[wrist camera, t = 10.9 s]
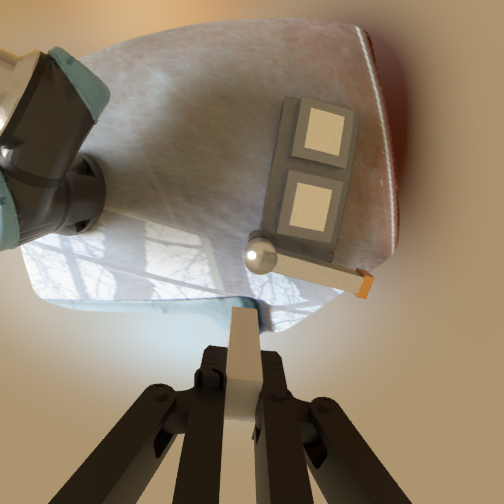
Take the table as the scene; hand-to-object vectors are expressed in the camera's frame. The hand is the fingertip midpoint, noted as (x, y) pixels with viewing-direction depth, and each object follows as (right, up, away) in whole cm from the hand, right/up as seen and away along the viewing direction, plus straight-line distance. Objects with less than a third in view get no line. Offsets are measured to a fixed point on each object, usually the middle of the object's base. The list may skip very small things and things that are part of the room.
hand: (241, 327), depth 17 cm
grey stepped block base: (+9, +15, +26) cm, 31 cm away
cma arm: (+8, +3, +21) cm, 22 cm away
